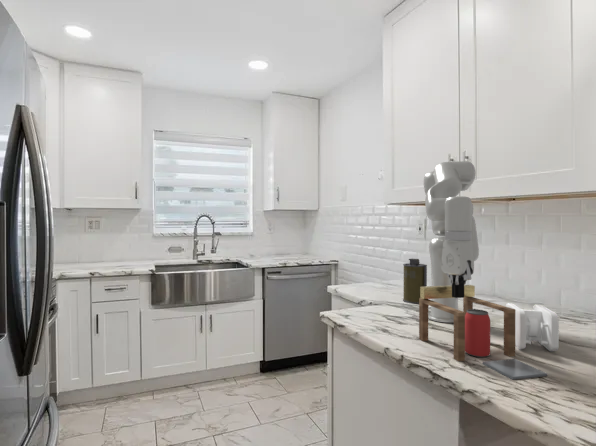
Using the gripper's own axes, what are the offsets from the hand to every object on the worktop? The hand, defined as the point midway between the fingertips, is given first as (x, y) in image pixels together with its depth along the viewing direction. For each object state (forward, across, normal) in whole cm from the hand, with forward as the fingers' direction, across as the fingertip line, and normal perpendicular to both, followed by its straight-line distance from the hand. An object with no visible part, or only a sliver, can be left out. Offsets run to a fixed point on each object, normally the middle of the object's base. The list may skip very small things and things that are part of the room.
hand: (458, 297), depth 114 cm
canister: (+14, -60, +20) cm, 65 cm away
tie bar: (+1, -5, 0) cm, 5 cm away
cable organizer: (+15, +5, +21) cm, 26 cm away
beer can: (+15, +8, 0) cm, 17 cm away
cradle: (+14, +3, 0) cm, 15 cm away
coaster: (+14, +20, +1) cm, 25 cm away
